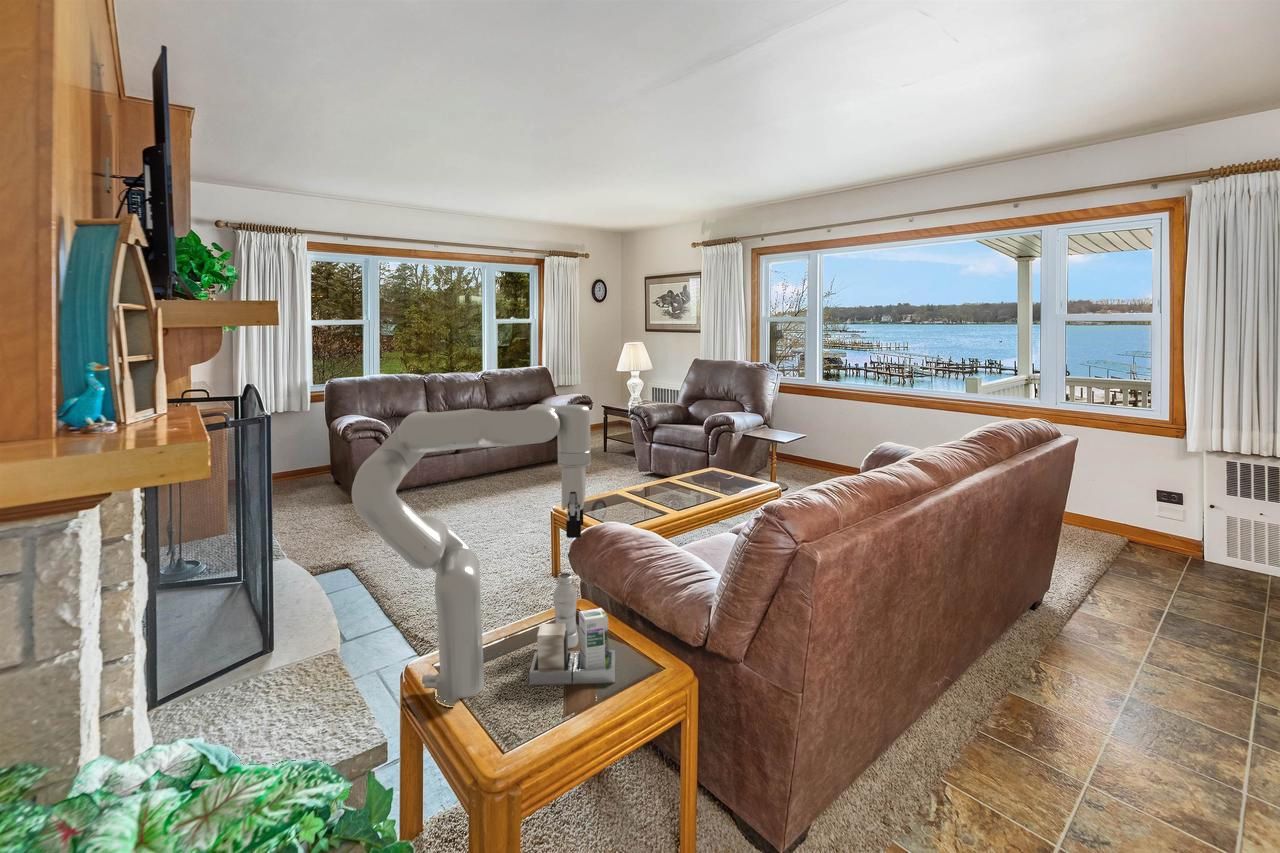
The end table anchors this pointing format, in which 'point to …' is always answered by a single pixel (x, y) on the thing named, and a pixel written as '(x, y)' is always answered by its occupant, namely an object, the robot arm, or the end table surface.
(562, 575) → the plastic bottle
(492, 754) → the end table surface
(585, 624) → the syrup box
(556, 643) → the beige curved-top block
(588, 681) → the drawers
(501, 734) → the end table surface
